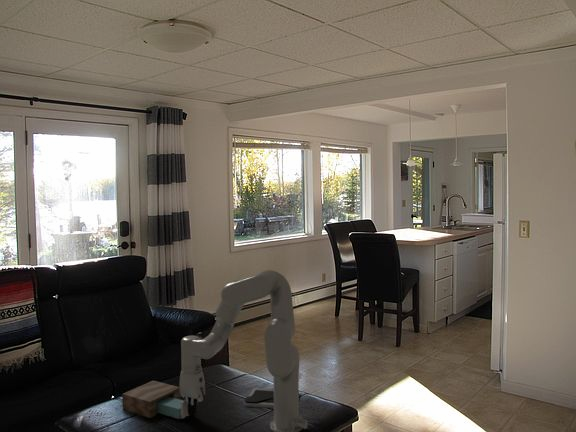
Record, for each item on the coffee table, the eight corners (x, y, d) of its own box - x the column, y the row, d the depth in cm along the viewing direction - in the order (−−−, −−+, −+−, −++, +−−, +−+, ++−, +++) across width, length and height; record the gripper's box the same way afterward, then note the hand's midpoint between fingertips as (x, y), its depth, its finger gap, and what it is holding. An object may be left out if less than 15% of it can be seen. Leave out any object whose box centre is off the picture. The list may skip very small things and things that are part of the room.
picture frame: (244, 407, 204) (293, 411, 200) (244, 401, 204) (293, 404, 200) (253, 392, 220) (299, 395, 216) (253, 386, 220) (298, 389, 216)
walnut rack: (180, 402, 209) (179, 387, 208) (150, 418, 194) (149, 401, 194) (153, 394, 217) (153, 380, 217) (122, 409, 202) (122, 393, 202)
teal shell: (193, 412, 198) (192, 397, 198) (180, 419, 192) (180, 403, 192) (166, 405, 206) (165, 390, 206) (153, 411, 200) (153, 395, 200)
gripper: (212, 368, 192) (212, 414, 193) (183, 362, 200) (184, 406, 201) (199, 374, 186) (200, 421, 187) (170, 367, 194) (171, 413, 194)
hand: (192, 413), depth 194 cm, fingers closed
